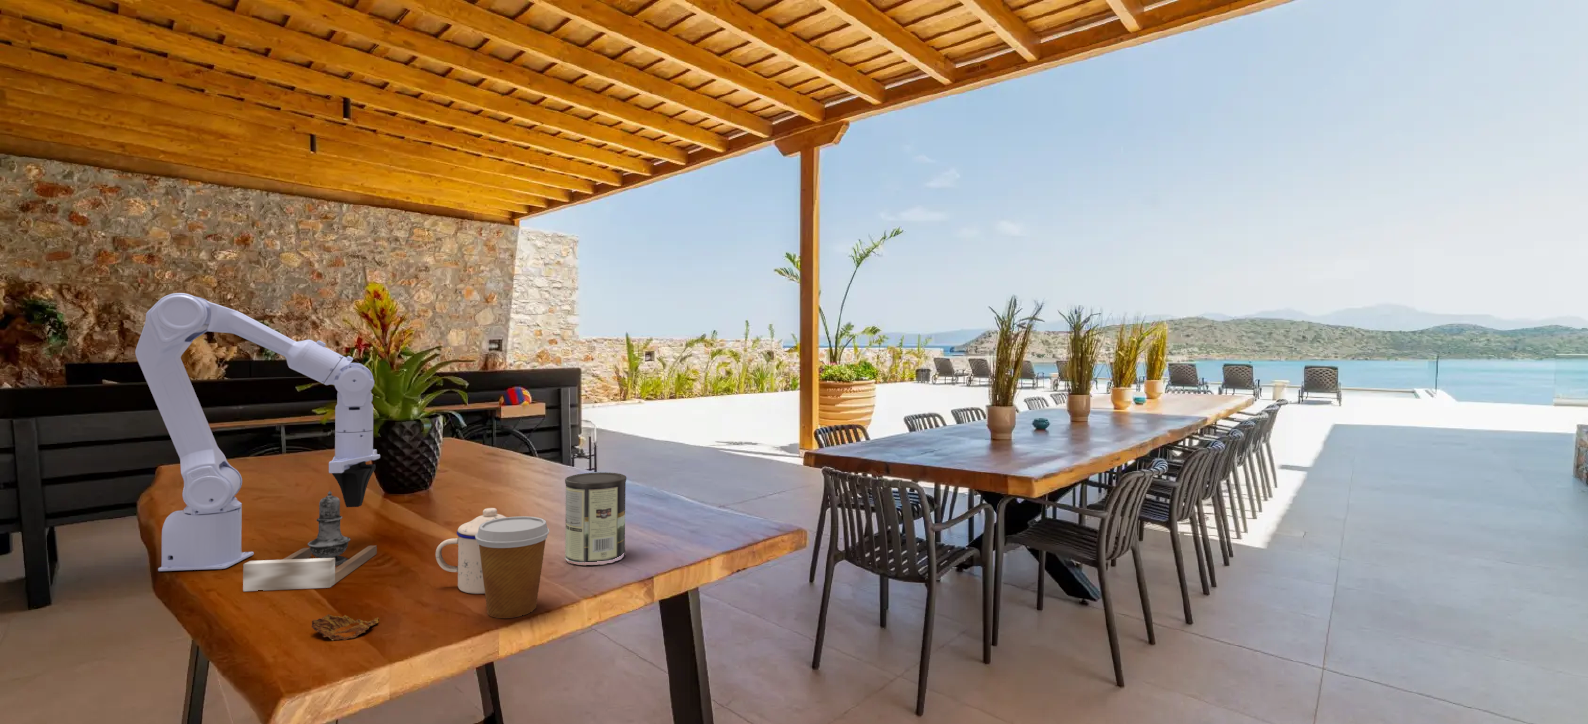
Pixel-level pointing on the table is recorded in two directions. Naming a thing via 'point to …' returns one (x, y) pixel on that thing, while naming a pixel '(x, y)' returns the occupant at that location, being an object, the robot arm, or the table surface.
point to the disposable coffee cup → (512, 563)
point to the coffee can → (595, 517)
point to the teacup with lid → (468, 554)
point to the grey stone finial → (329, 531)
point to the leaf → (335, 622)
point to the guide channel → (300, 571)
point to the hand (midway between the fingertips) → (353, 506)
